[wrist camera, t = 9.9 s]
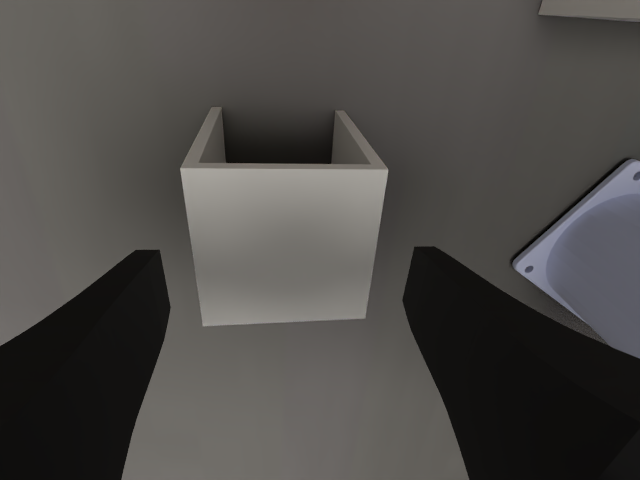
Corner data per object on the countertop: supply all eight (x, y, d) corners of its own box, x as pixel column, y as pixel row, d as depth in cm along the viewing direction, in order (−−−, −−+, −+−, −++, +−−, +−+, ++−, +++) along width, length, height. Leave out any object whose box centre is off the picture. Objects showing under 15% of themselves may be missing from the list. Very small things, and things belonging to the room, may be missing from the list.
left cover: (344, 110, 16) (388, 169, 11) (334, 223, 19) (365, 318, 14) (211, 106, 16) (180, 168, 10) (222, 224, 19) (203, 326, 13)
